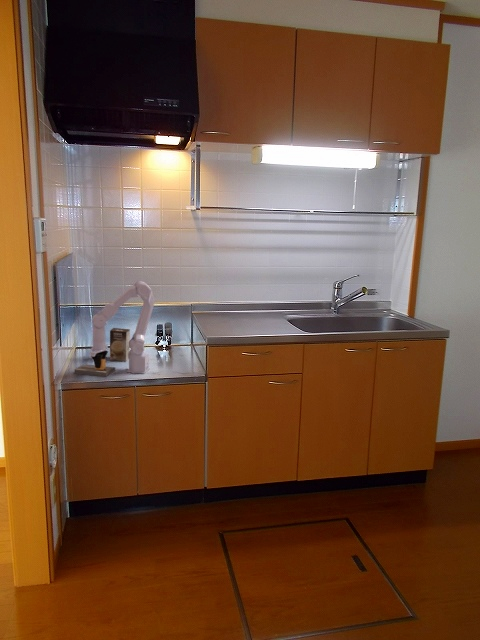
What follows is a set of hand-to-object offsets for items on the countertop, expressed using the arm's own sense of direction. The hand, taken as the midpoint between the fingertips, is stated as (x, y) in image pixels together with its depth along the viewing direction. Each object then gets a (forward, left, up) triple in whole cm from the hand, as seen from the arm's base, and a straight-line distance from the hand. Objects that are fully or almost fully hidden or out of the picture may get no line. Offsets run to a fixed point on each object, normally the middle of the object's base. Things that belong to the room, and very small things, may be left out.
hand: (99, 366), depth 242 cm
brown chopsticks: (+3, -6, -3) cm, 8 cm away
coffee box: (0, -24, -3) cm, 24 cm away
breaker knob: (0, 0, -1) cm, 1 cm away
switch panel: (+3, 0, -3) cm, 4 cm away
